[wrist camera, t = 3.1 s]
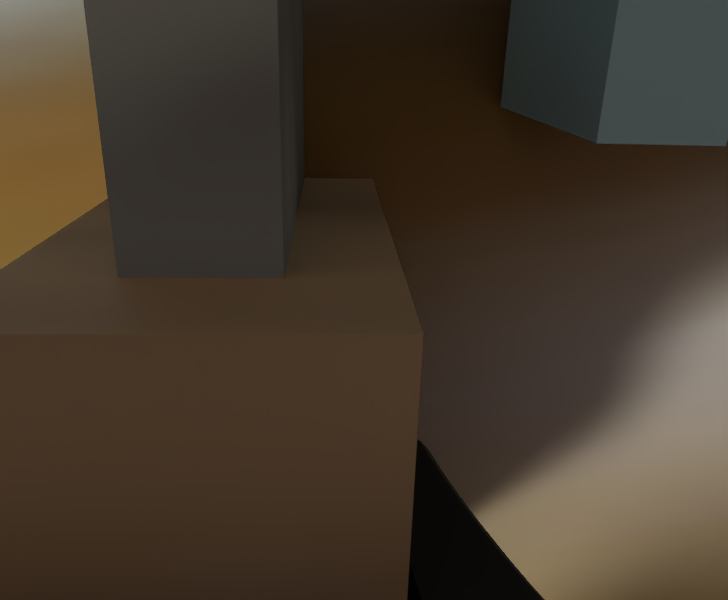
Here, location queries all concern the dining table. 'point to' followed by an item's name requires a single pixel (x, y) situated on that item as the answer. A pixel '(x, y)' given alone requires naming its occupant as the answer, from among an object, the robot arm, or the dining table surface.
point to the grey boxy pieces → (621, 69)
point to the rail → (208, 341)
